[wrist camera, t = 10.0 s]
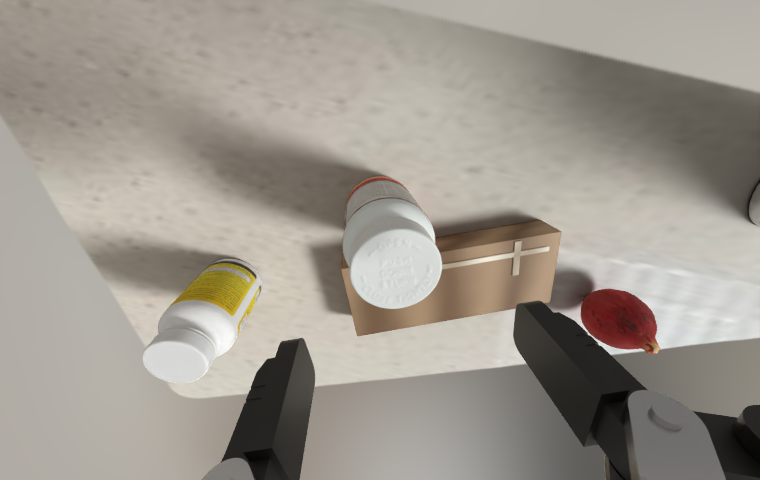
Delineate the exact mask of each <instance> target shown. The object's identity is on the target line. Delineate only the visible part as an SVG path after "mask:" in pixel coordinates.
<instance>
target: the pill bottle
mask: <svg viewBox="0 0 760 480" xmlns="http://www.w3.org/2000/svg"><path fill="white" fill-rule="evenodd" d="M342 243H343V253H344V257H345V260H346V262H347V264H348V266H349V274H350V280H351V283H352V285H353V287H354V289H355V291H356V292H357V293H358V295H359V296H360V297H361V298H362V299H364V300H365V301H367V302H368V303H370V304H372V305H374V306H377V307H381V308H387V309H398V308H404V307H408V306H411V305H414V304H416V303H418V302H420V301H421V300H423V299H424V298H425V297H427V296H428V295H429V294H430V293H431V292H432V291H433V289H434V288H435V287H436V285H437V283H438V281H439V279H440V275H441V271H442V260H441V255H440V252H439V250H438V248H437V246H436V245H435V234H434V230H433V227H432V224H431V222H430V220H429V218H428V217H427V215H426V214H425V213H424V212H423V210H422V209H421V208H420V206H419V205H418V204H417V202H416V201H415V199H414V198H413V197H412V195H411V194H410V193H409V191H408V190H407V189H406V188H405V187H404V186H403V185H402V184H401V183H399V182H398V181H396V180H394V179H392V178H389V177H382V176H379V177H372V178H369V179H366V180H364V181H362V182H361V183H359V184H358V185H357V186H356V187H355V188H354V189H353V190H352V191H351V193H350V195H349V197H348V199H347V203H346V210H345V224H344V234H343V242H342Z"/></svg>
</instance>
